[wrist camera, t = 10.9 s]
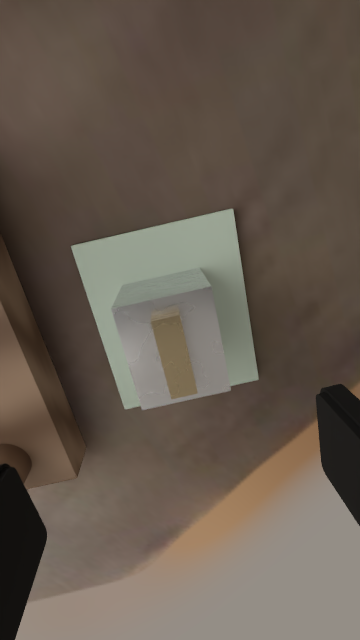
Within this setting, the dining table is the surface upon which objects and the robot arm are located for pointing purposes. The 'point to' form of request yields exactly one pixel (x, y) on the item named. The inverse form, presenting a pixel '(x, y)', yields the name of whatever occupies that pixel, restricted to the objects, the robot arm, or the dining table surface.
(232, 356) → the mat
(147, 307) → the white block
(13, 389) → the tan board with knob
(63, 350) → the dining table surface
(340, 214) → the dining table surface
